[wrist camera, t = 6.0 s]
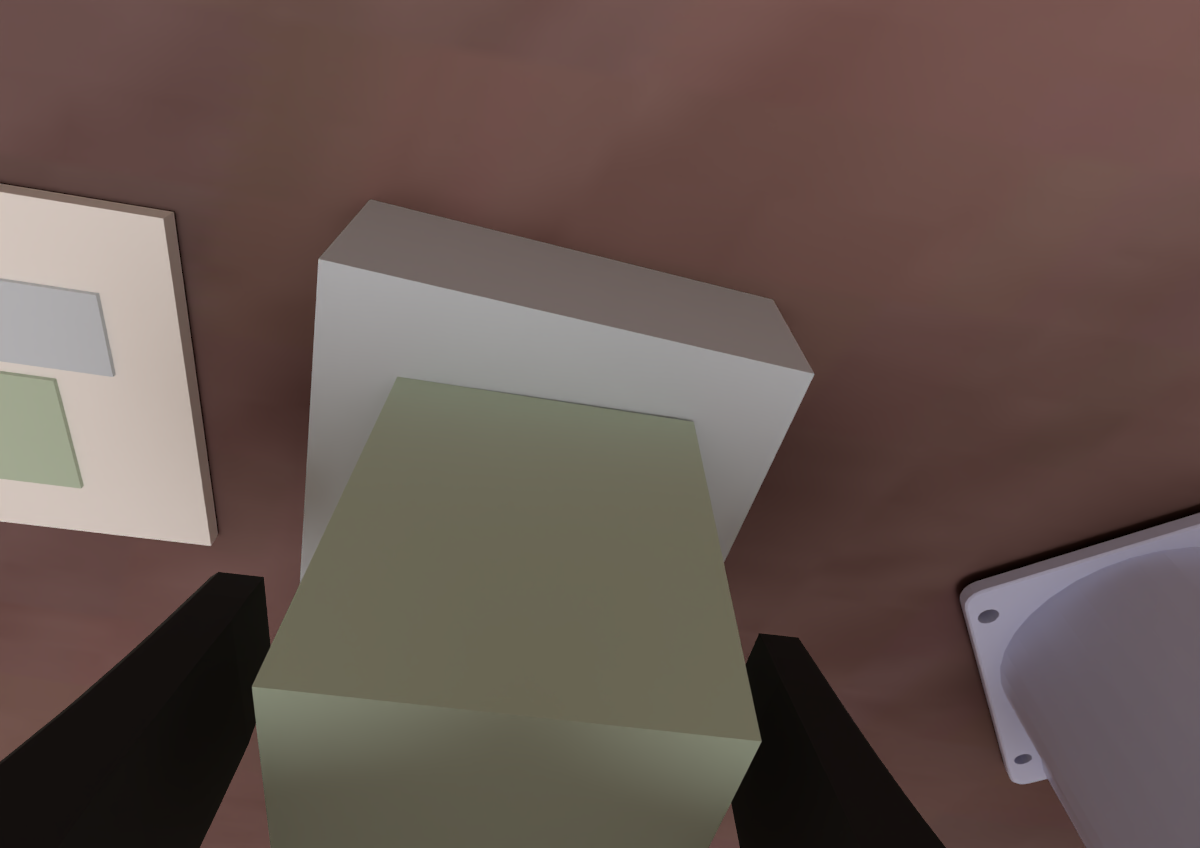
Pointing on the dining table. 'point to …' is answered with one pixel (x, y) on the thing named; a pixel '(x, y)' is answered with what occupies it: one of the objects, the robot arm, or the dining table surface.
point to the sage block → (509, 639)
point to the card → (98, 372)
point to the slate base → (540, 347)
